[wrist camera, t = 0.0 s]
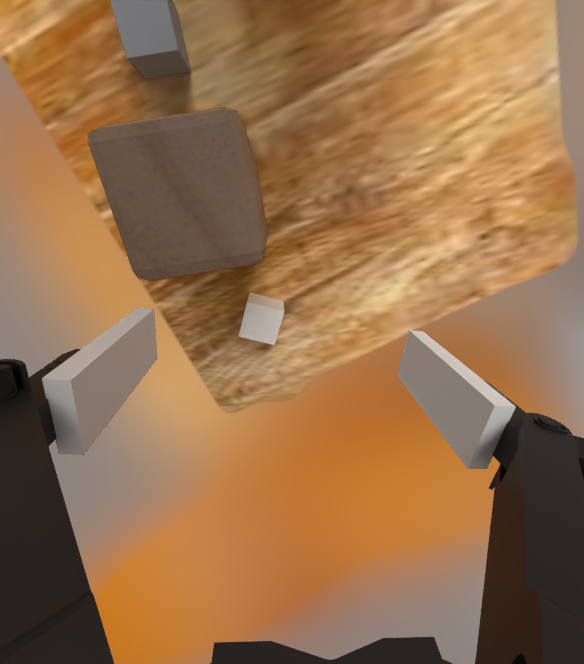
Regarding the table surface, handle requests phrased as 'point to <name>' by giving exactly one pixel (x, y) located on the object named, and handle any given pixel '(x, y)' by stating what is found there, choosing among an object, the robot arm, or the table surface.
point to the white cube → (262, 319)
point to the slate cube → (152, 36)
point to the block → (183, 192)
